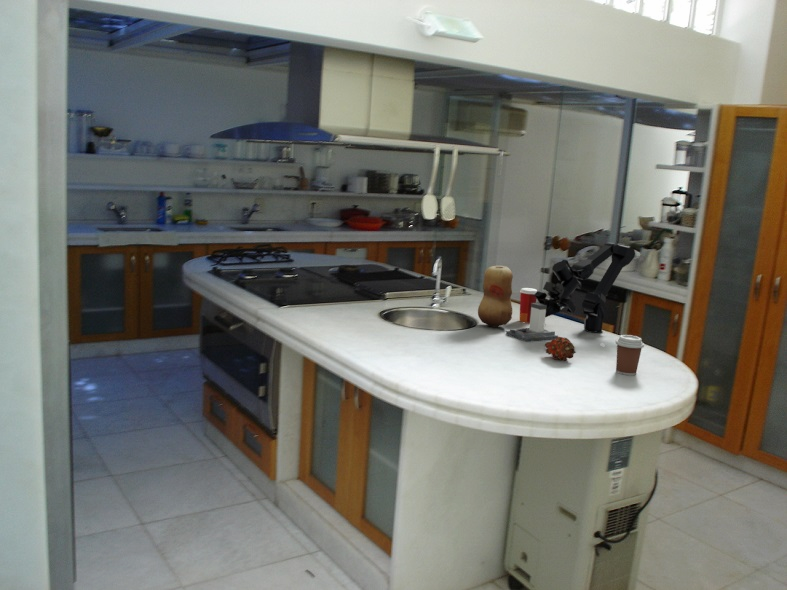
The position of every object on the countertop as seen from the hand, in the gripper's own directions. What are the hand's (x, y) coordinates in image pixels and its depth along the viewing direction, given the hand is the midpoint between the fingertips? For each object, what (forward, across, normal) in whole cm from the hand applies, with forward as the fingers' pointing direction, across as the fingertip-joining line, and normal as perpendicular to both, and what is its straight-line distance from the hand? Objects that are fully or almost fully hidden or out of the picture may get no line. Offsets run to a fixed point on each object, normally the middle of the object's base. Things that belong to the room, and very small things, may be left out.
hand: (541, 317), depth 283 cm
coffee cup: (+10, +48, +1) cm, 49 cm away
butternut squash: (+12, -18, -1) cm, 21 cm away
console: (+8, 0, +2) cm, 8 cm away
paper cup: (-3, -22, +14) cm, 26 cm away
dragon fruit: (+18, +28, -6) cm, 34 cm away
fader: (+6, 0, +3) cm, 6 cm away
